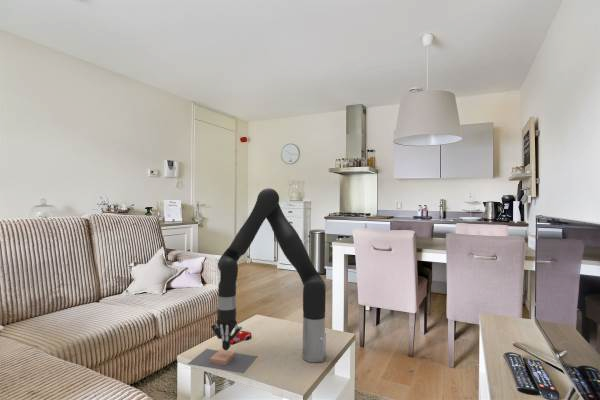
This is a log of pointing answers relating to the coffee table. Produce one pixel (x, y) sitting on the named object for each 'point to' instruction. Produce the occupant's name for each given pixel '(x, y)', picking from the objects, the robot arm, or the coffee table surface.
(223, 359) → the tile
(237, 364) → the mat
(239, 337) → the race car
